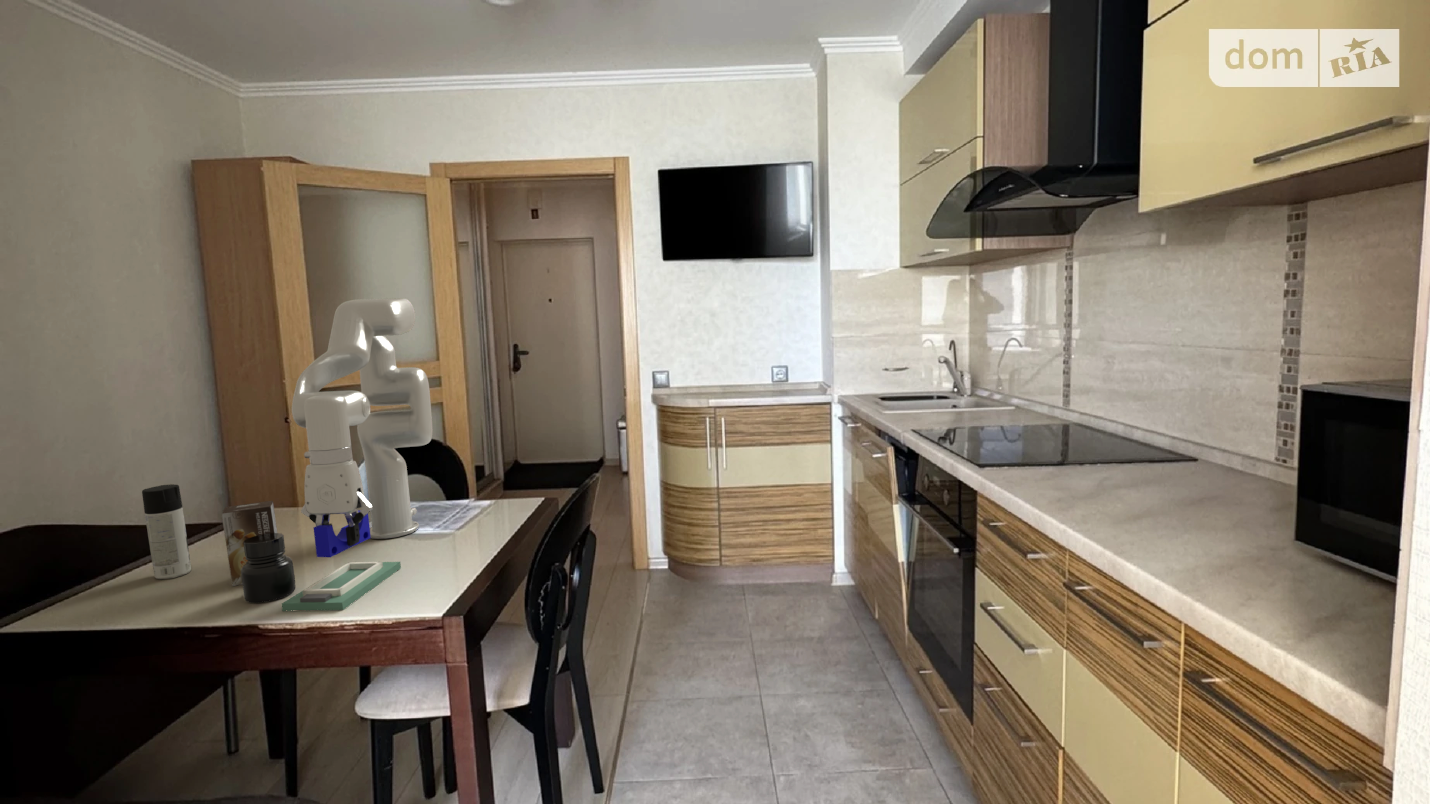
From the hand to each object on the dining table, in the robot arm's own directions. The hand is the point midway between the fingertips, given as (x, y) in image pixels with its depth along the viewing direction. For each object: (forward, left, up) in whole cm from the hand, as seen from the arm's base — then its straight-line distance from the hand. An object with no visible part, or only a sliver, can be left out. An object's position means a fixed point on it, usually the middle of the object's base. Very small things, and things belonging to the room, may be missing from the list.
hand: (340, 543), depth 143 cm
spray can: (-10, -46, -10) cm, 48 cm away
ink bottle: (+3, -14, -10) cm, 17 cm away
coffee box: (-7, -24, -10) cm, 27 cm away
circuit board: (0, 0, -10) cm, 10 cm away
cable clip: (0, 0, -1) cm, 1 cm away
